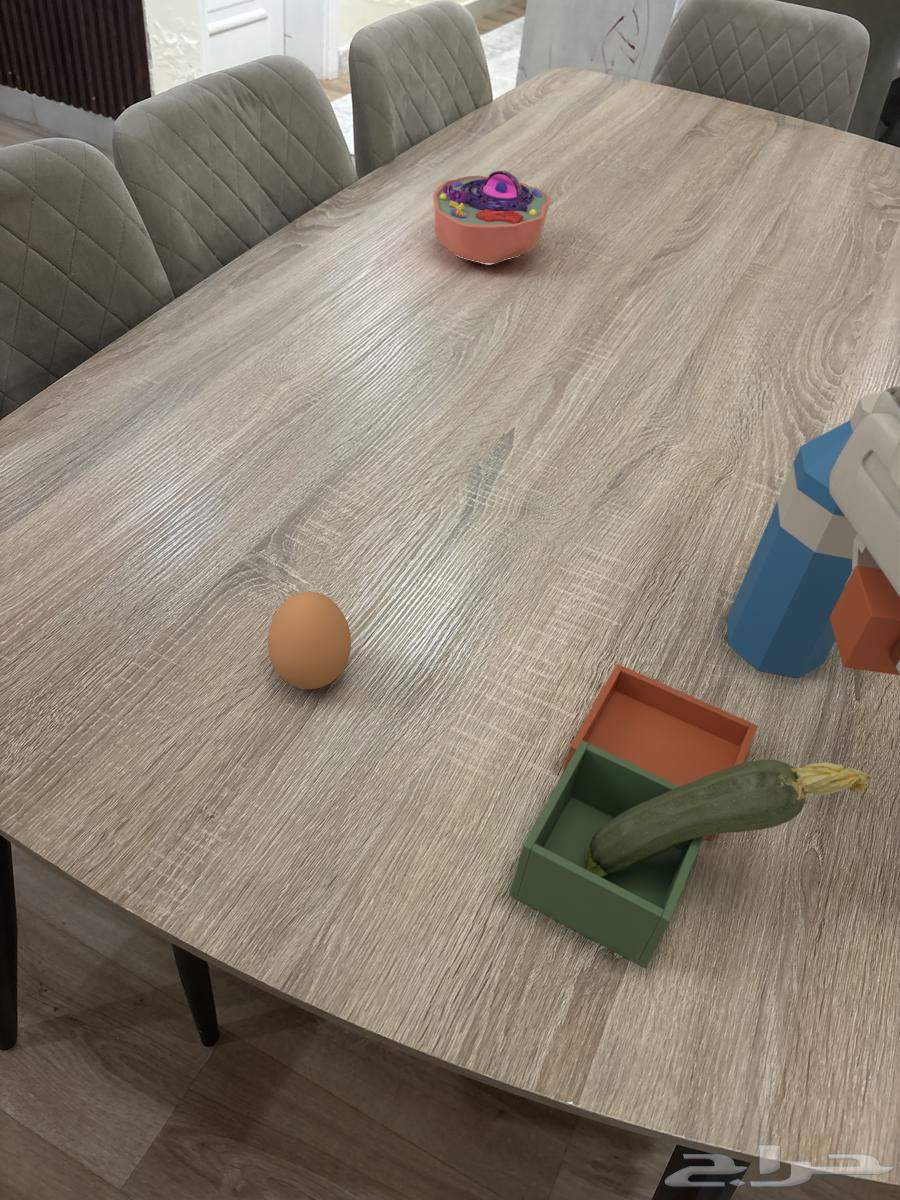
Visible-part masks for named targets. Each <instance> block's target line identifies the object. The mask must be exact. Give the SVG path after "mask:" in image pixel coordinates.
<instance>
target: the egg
mask: <svg viewBox="0 0 900 1200" xmlns="http://www.w3.org/2000/svg"><path fill="white" fill-rule="evenodd" d="M351 649H352V635H351V630H350V626H349V623H348V620H347V619H346V617H345V614H344V613H343V612H342V610H341V608H340V606H338V605H337V603H335V602H334V601H333V599H331V598H330V597H329V596H327V595H326V594H323V593H322V592H317V591H301V592H299V593H295V594H292V596H290V597H288V598H287V599H285V601H284V602H283V603H282V604H281V605H280V606H279V607H278V609H277V610H276V612H275V614H274V616H273V617H272V619H271V621H270V624H269V627H268V634H267V653H268V657H269V660H270V663H271V665H272V668H273V669H274V671H275V672H276V674H277V675H278V676H279V677H280V678H281V679H282V680H283V681H285V682H286V683H288V684H289V685H290V686H292V687H296V688H297V689H302V690H317V689H320V688H323V687H325V686H328V685H329V684H331V683H332V682H334V681H335V680H336V679H337V678H338V677H339V676H340V675H341V674H342V673H343V671H344V670H345V668H346V666H347V664H348V662H349V658H350V655H351Z"/></svg>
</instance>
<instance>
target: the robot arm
mask: <svg viewBox="0 0 900 1200" xmlns="http://www.w3.org/2000/svg"><path fill="white" fill-rule="evenodd" d="M879 394H880V395H879V397H878V399H877V401H876V403H875V406H874V408H873V410H872V412H871V414H869V415H868V416H866V417H865V418H864V419H863V420H862V421H861V422H860V423H859V424H858V426H857V427H856V429H855V430H854V432H853V433H852V435H851V436H850V438H849V440H848V441H847V443H846V445H845V446H844V448H843V450H842V452H841V453H840V455H839V457H838V459H837V461H836V463H835V465H834V467H833V469H832V471H831V473H830V480H829V492H830V495H831V496H832V498H833V499H834V501H835V502H836V504H837V505H838V507H839V508H840V509H841V511H842V512H843V514H844V515H845V517H846V518H847V520H848V521H849V523H850V524H851V526H852V527H853V529H854V530H855V532H856V533H857V535H856V537H855V539H854V541H853V559H852V569H853V571H854V569H855V567H856V566H865V567H872V568H879V569H881V570H882V572H883V573H884V575H885V576H886V578H887V579H888V581H889V582H890V584H891V585H892V586H893V588H894V589H895V591H896V592H897V594H898V595H899V597H900V386H896V385H895V386H890V387H889V388H887V389H886V390H883V391H882V392H880V393H879ZM853 571H852V573H853ZM852 573H851V574H852ZM850 576H851V575H850ZM849 578H850V577H849ZM848 580H849V579H848ZM847 582H848V581H847ZM846 584H847V583H846ZM845 586H846V585H845ZM890 658H891V660H892V662H893V663H894V665H895V667H896V668H897V670H898V672H899V673H900V641H898V642H897V644H896V645H895V647H894V652H891V654H890Z"/></svg>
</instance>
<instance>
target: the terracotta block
mask: <svg viewBox="0 0 900 1200" xmlns="http://www.w3.org/2000/svg"><path fill="white" fill-rule="evenodd" d="M830 620H831V623H832V627H833V631H834V635H835V638H836V641H835V643H836V645H837V649H838V653H839V657H840V661H841V665H842V667H843V668H844V669H852V670H860V671H866V672H873V673H880V674H881V673H882V674H888V675H895V676H900V673H899V672H898V670H897V668H896V667H895V665H894V663H893V662H892V660H891V658H890V654H891V652H894V647H895V645H896V644H897V642H898V641H900V597H899V595H898V594H897V592H896V591H895V589H894V588H893V586H892V585H891V584H890V582H889V581H888V579H887V578H886V576H885V575H884V573H883V572H882V570H881V569H879V568H872V567H865V566H856V567H855V569H854V571H853V573H852V574H851V576H850V578H849V580H848V582H847V584H846V586H845V588H844V590H843V592H842V594H841V596H840V598H839V600H838V602H837V604H836V606H835V608H834V610H833V612H832V614H831V615H830Z"/></svg>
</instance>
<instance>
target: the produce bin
mask: <svg viewBox="0 0 900 1200" xmlns="http://www.w3.org/2000/svg"><path fill="white" fill-rule="evenodd" d="M677 787H680V786H679V785H677V784H674V783H672V782H670V781H668V780H666V779H664V778H662V777H660V776H657V775H655V774H653V773H651V772H649V771H647V770H645V769H643V768H640V767H638V766H636V765H634V764H632V763H630V762H628V761H626V760H623V759H621V758H619V757H617V756H615V755H613V754H611V753H609V752H606V751H604V750H602V749H600V748H598V747H596V746H594V745H592V744H589V743H587V742H585V741H583V740H582V741H581V742H580V744H579V746H578V748H577V750H576V751H575V753H574V755H573V757H572V758H571V760H570V762H569V764H568V766H567V767H566V769H565V770H564V771H563V773H562V775H561V776H560V778H559V780H558V782H557V784H556V785H555V787H554V789H553V790H552V793H551V794H550V796H549V798H548V800H547V802H546V803H545V805H544V807H543V808H542V811H541V812H540V814H539V816H538V817H537V819H536V821H535V823H534V825H533V827H532V828H531V830H530V832H529V834H528V836H527V837H526V839H525V841H524V843H523V844H522V847H521V851H520V855H519V859H518V862H517V865H516V869H515V873H514V876H513V880H512V883H511V887H510V891H509V893H508V895H509V896H510V897H511V898H513V899H515V900H517V901H519V902H521V903H523V904H525V905H526V906H528V907H530V908H532V909H534V910H536V911H538V912H540V913H542V914H543V915H546V916H547V917H549V918H551V919H553V920H555V921H557V922H558V923H561V924H562V925H564V926H566V927H568V928H570V929H572V930H573V931H575V932H577V933H578V934H580V935H583V936H585V937H587V938H589V939H590V940H592V941H594V942H596V943H598V944H599V945H601V946H603V947H605V948H607V949H609V950H611V951H612V952H615V953H617V954H618V955H620V956H622V957H623V958H626V959H628V960H629V961H631V962H633V963H635V964H637V965H639V966H641V967H643V968H645V969H646V968H647V966H648V964H649V963H650V960H651V958H652V956H653V955H654V953H655V951H656V949H657V947H658V945H659V943H660V941H661V940H662V938H663V936H664V934H665V932H666V930H667V929H668V926H669V925H670V923H671V921H672V919H673V916H674V913H675V910H676V908H677V906H678V903H679V901H680V898H681V895H682V893H683V890H684V888H685V885H686V883H687V880H688V878H689V875H690V872H691V870H692V867H693V865H694V862H695V860H696V857H697V854H698V852H699V849H700V847H701V844H702V842H703V839H704V838H705V837H704V836H703V837H698V838H694V839H691V840H688V841H685V842H682V843H680V844H678V845H677V846H675V847H673V848H671V849H669V850H667V851H665V852H663V853H661V854H658V855H656V856H654V857H652V858H650V859H647V860H645V861H643V862H641V863H639V864H636V865H635V866H633V867H631V868H629V869H627V870H624V871H617V872H614V873H609V874H608V875H606V876H604V877H600V876H598V875H596V874H594V873H592V872H590V871H588V870H587V869H586V867H587V865H588V861H587V860H586V856H587V851H588V849H589V847H590V843H591V841H592V837H593V836H594V834H595V833H596V832H597V830H598V829H600V828H601V827H602V826H603V825H605V824H606V823H608V822H609V821H611V820H612V819H614V818H615V817H617V816H618V815H620V814H621V813H623V812H625V811H627V810H629V809H630V808H632V807H634V806H637V805H639V804H641V803H644V802H646V801H648V800H651V799H653V798H655V797H657V796H660V795H662V794H664V793H666V792H668V791H671V790H673V789H675V788H677Z"/></svg>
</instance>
